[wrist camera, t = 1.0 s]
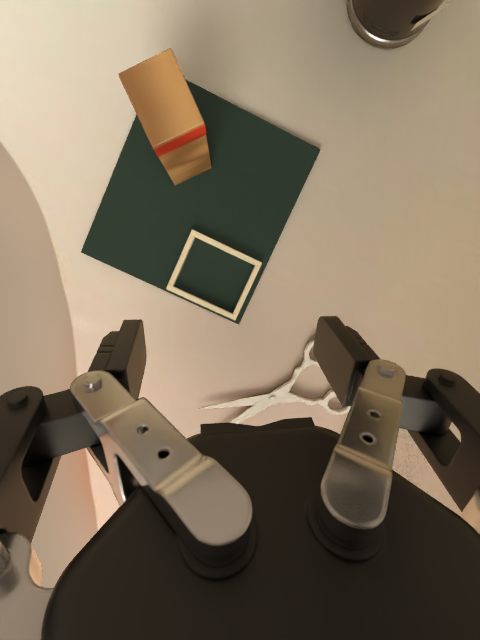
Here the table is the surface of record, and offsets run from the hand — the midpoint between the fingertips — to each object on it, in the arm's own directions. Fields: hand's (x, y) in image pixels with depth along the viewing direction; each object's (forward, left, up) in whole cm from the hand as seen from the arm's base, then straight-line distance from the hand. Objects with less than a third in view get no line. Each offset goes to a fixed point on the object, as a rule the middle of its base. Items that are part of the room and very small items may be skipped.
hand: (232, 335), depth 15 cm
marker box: (-13, -12, -24) cm, 29 cm away
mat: (-9, -8, -24) cm, 27 cm away
